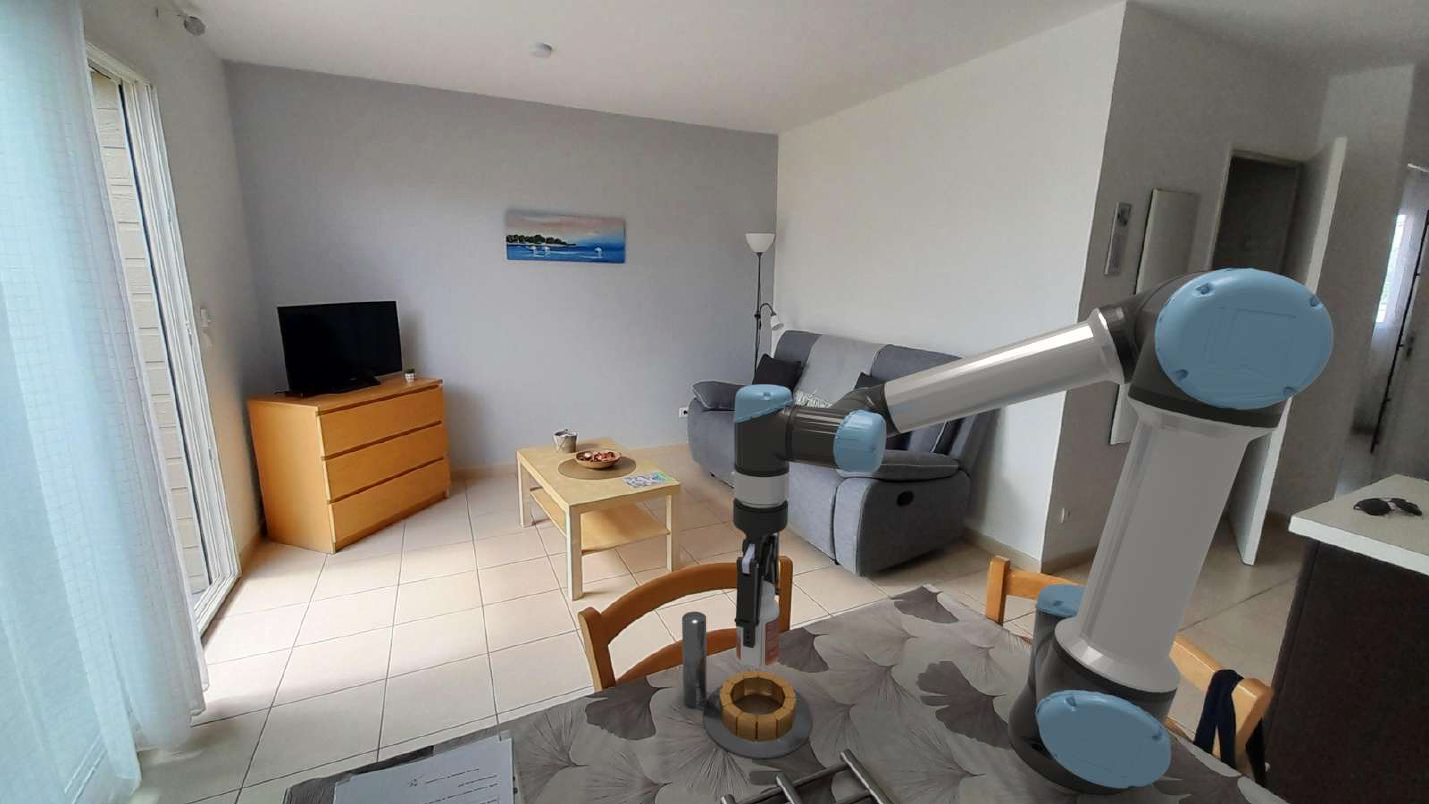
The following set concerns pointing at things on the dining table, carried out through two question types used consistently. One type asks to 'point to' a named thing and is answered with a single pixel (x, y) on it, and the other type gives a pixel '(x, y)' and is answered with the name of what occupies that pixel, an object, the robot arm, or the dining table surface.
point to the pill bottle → (765, 629)
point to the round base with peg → (743, 703)
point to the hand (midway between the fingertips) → (757, 648)
